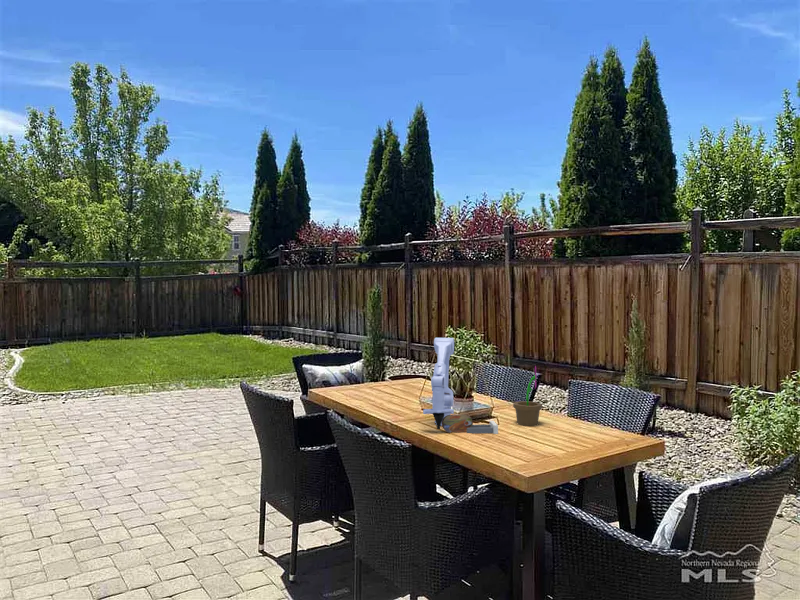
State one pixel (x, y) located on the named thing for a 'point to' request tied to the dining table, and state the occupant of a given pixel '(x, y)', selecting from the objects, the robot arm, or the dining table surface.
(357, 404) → the dining table surface
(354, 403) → the dining table surface
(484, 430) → the bay
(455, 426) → the tin
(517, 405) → the flowerpot
